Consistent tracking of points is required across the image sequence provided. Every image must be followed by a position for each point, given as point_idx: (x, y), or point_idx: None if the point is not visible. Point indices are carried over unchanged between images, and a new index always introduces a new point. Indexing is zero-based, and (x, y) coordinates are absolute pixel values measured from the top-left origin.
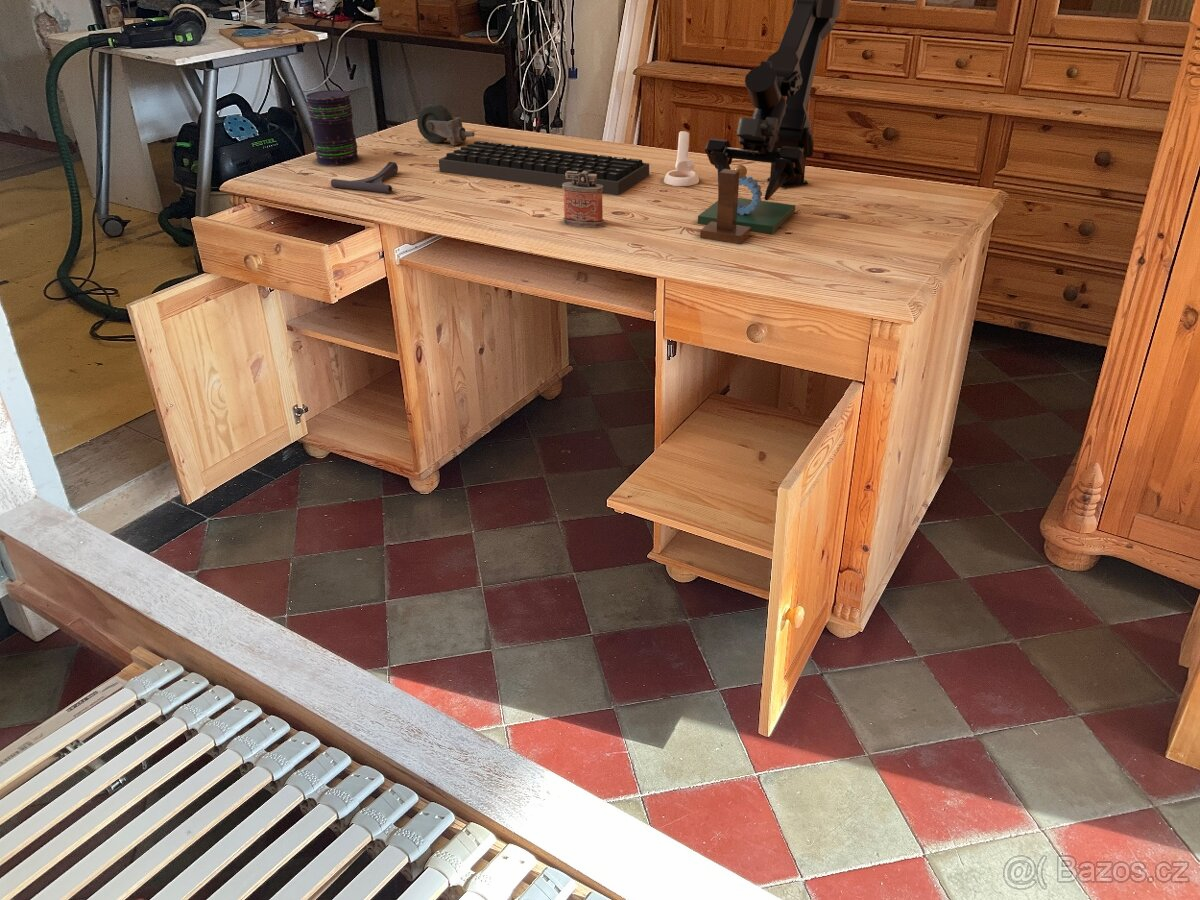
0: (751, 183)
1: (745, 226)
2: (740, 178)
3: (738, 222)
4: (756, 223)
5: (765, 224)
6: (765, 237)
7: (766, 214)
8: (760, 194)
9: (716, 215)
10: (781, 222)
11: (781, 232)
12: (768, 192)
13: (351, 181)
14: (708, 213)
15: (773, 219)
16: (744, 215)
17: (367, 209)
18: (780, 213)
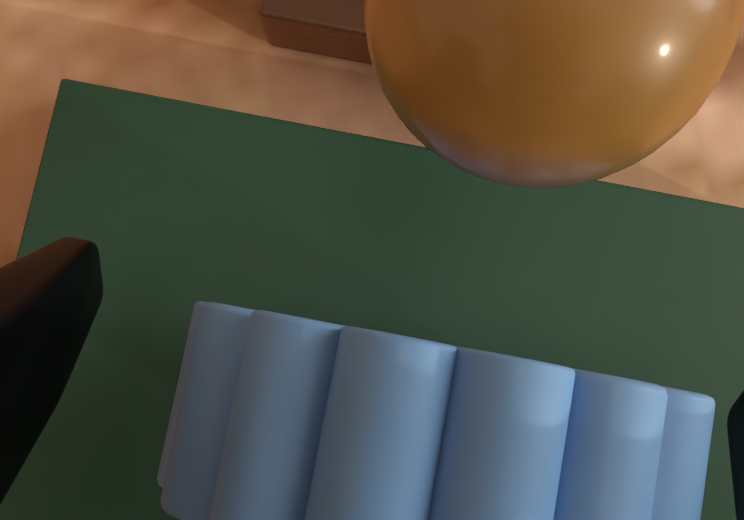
0: (288, 322)
1: (314, 12)
2: (525, 388)
3: (401, 146)
4: (223, 121)
5: (135, 109)
6: (140, 13)
7: (156, 422)
8: (173, 405)
9: (646, 274)
10: None
11: (15, 167)
12: (14, 267)
13: None
14: (738, 318)
15: None
16: None
17: None
18: (15, 491)
